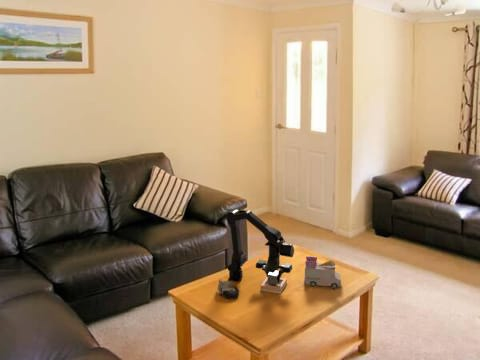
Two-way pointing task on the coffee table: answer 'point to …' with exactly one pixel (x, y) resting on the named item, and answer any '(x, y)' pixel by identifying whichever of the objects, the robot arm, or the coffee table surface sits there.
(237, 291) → the caster wheel
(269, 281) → the grey metal box
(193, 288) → the coffee table surface
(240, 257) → the robot arm
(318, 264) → the toy vehicle
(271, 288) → the square tray
